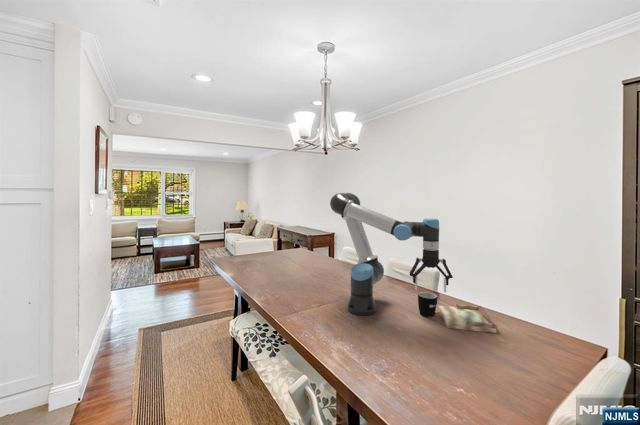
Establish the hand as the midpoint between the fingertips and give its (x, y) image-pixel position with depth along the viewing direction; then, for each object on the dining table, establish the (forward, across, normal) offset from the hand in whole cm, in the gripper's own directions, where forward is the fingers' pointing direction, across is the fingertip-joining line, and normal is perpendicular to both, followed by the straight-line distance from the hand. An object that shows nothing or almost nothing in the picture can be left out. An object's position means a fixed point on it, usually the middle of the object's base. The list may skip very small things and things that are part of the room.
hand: (430, 290), depth 138 cm
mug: (+12, 0, 0) cm, 13 cm away
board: (+12, +16, -3) cm, 20 cm away
